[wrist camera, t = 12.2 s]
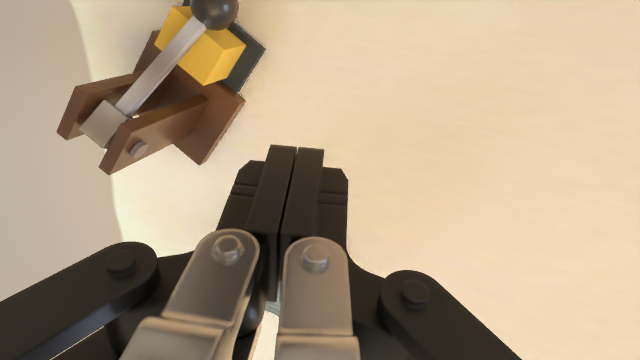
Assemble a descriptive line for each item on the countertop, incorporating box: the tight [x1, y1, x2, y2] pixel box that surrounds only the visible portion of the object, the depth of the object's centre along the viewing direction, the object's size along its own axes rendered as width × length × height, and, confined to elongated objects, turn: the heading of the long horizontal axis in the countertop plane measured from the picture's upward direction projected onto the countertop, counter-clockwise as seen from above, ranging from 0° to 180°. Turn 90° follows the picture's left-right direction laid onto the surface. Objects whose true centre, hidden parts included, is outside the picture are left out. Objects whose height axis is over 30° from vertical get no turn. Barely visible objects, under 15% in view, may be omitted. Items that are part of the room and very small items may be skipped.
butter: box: [154, 0, 265, 93], centre depth 37 cm, size 5×8×5 cm, turn 53°
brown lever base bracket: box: [57, 30, 245, 175], centre depth 36 cm, size 8×10×12 cm
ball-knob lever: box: [79, 0, 239, 149], centre depth 33 cm, size 15×4×4 cm, turn 143°
